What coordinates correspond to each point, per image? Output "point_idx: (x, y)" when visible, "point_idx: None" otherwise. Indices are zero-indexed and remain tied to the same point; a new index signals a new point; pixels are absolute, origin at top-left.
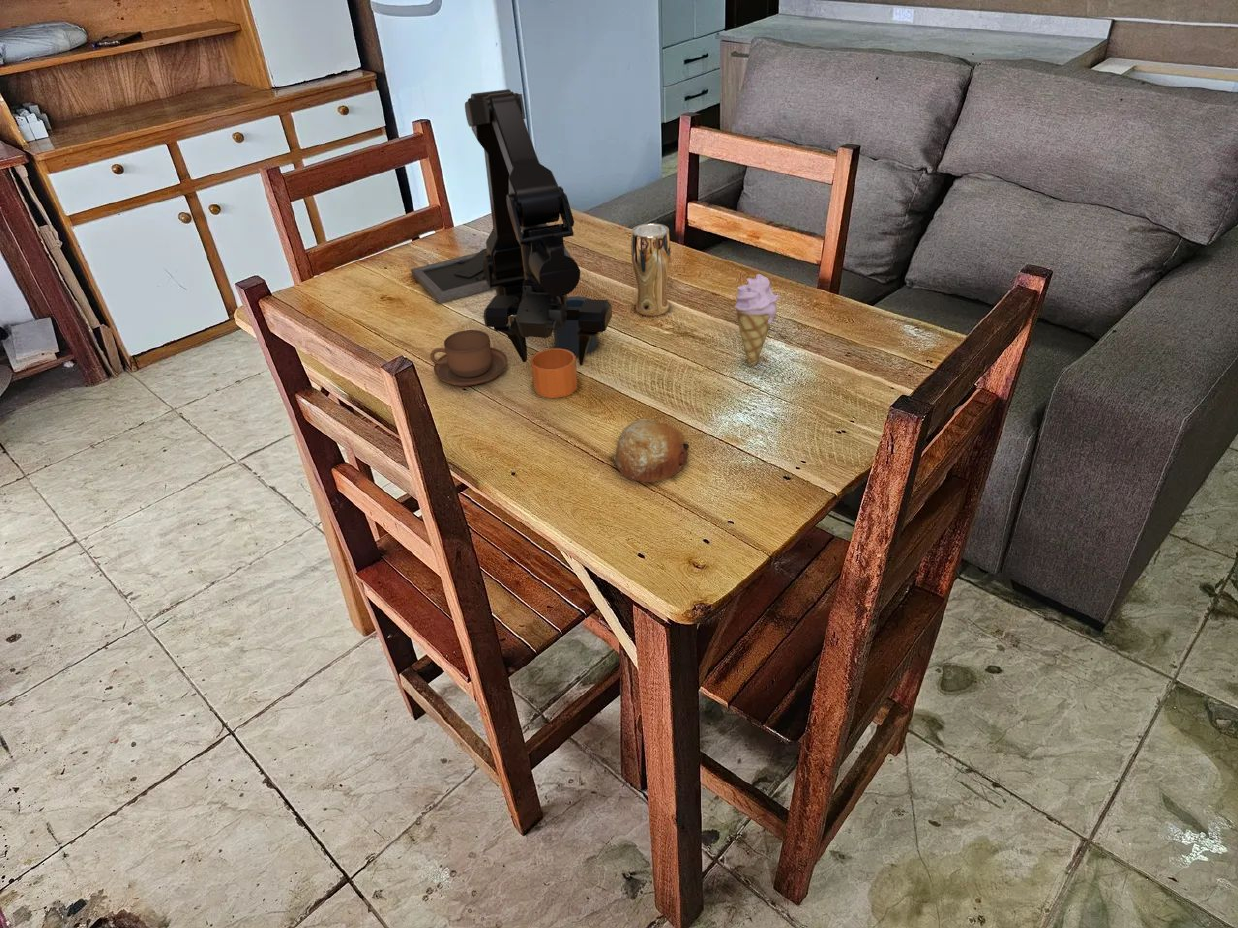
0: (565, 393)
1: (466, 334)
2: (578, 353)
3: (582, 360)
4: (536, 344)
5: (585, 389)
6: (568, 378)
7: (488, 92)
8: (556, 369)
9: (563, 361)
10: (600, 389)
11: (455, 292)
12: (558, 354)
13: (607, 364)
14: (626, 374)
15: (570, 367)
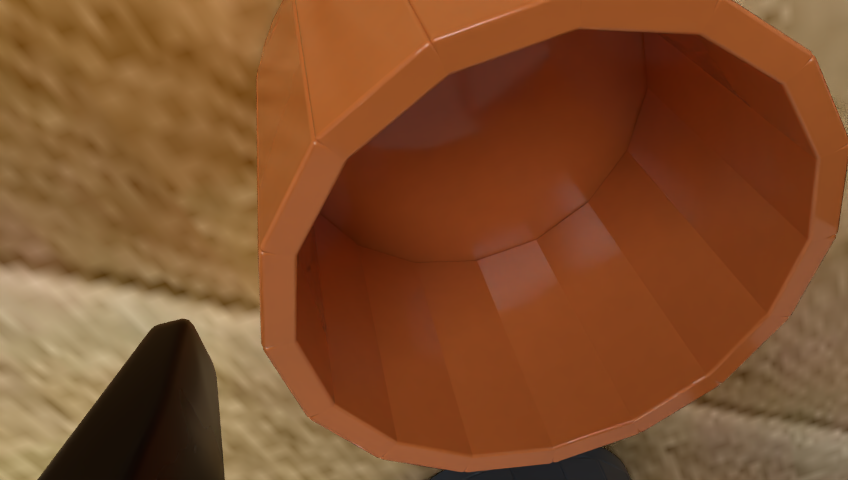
0: None
1: None
2: (463, 472)
3: (116, 384)
4: (736, 448)
5: (178, 153)
6: (274, 108)
7: None
8: (407, 74)
9: (480, 349)
10: (44, 199)
11: None
12: (547, 396)
13: (228, 460)
14: (9, 427)
15: (258, 228)
